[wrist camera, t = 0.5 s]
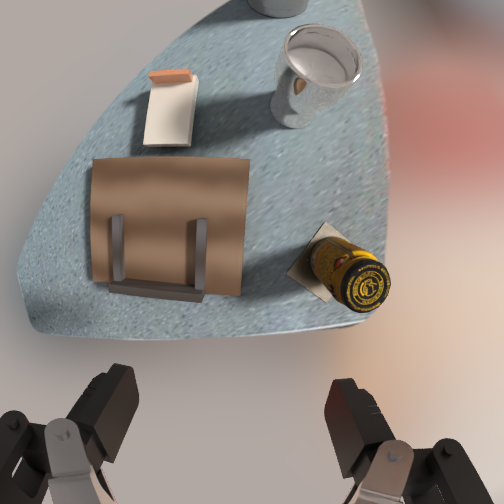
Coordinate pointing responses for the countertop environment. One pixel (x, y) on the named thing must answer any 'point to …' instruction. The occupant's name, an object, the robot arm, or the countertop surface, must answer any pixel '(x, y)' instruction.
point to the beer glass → (313, 73)
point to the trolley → (171, 108)
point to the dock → (169, 225)
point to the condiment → (341, 272)
